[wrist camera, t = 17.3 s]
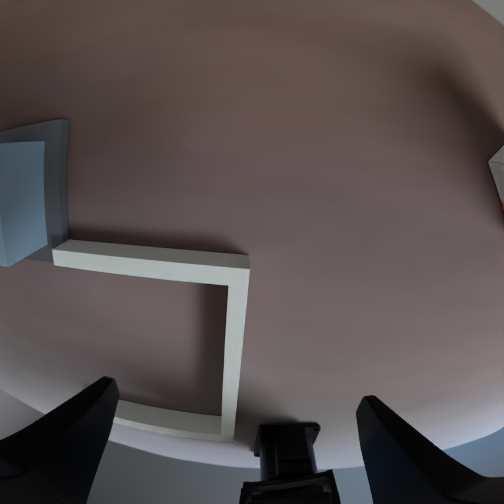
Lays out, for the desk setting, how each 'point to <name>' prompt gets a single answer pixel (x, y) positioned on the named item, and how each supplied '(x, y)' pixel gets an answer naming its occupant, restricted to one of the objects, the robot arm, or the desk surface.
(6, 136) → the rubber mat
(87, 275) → the desk surface
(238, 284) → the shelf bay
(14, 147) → the blank block
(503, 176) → the ink cartridge box
